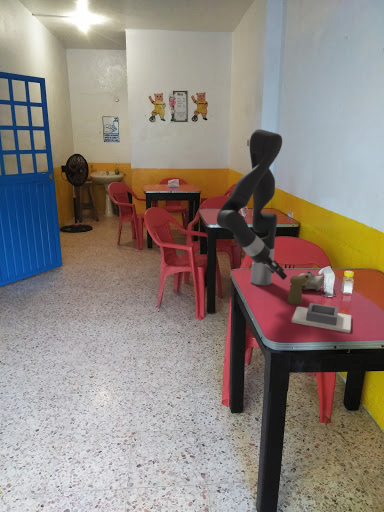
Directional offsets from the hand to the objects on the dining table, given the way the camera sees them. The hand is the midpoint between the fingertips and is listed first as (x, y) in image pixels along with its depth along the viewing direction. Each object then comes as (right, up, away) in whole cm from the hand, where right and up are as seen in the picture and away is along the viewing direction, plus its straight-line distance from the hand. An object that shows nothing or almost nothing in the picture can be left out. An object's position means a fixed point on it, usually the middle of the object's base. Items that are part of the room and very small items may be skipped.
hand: (279, 274), depth 158 cm
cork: (+8, -12, +6) cm, 15 cm away
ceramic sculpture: (+17, -8, +21) cm, 28 cm away
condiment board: (+13, -16, -11) cm, 24 cm away
